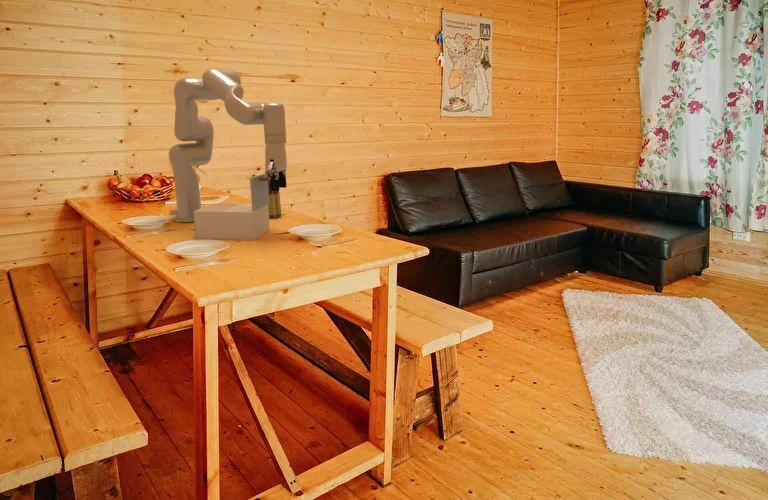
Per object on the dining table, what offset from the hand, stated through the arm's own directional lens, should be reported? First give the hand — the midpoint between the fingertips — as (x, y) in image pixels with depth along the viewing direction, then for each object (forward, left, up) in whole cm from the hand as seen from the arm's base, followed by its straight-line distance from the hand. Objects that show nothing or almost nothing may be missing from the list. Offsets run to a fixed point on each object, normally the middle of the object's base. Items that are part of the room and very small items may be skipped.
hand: (278, 188), depth 206 cm
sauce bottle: (-15, +32, -17) cm, 39 cm away
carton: (-19, 0, -17) cm, 25 cm away
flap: (-8, 0, -1) cm, 8 cm away
